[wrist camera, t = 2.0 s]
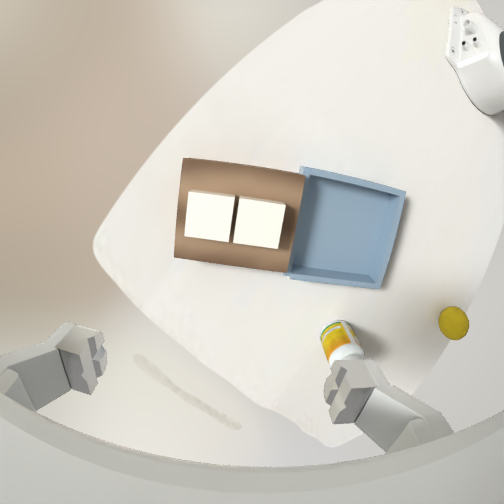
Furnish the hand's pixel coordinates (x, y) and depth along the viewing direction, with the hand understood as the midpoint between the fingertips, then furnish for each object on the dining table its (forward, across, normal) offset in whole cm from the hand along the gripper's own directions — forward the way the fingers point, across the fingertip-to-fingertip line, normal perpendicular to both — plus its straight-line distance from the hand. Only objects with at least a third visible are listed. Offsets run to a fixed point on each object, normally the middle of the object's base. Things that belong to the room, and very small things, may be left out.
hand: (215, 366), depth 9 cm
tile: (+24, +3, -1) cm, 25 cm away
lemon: (+29, -40, +12) cm, 51 cm away
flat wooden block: (+28, 0, -1) cm, 28 cm away
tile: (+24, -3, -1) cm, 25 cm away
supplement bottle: (+29, -18, +16) cm, 38 cm away
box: (+28, -14, -1) cm, 32 cm away
